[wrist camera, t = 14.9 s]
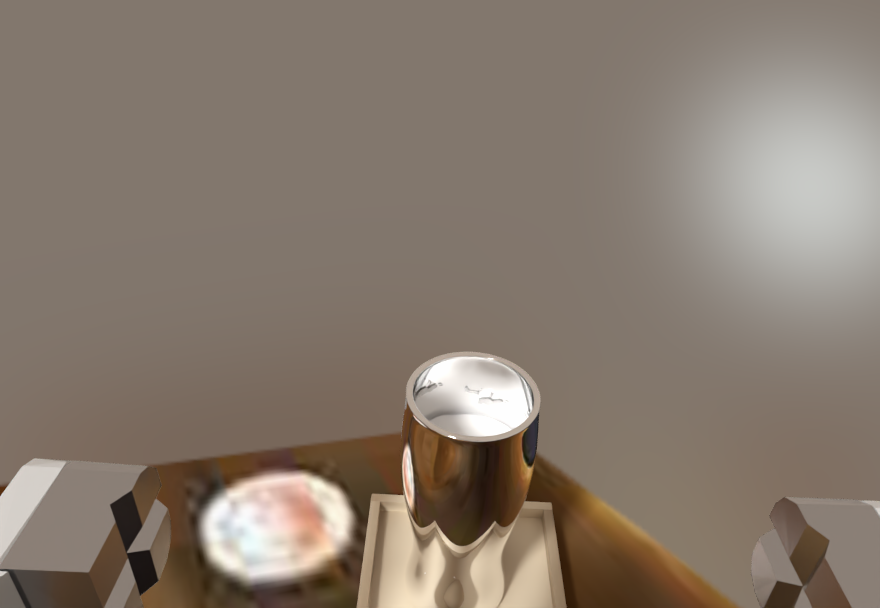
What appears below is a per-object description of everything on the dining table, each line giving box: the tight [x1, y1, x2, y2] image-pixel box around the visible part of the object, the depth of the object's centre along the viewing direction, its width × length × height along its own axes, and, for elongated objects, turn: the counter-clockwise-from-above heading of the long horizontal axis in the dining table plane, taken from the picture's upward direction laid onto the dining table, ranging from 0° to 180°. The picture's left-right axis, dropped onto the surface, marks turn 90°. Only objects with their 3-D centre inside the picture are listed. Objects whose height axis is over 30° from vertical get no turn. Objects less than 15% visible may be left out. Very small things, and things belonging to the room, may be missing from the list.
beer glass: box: [400, 352, 541, 608], centre depth 37 cm, size 7×7×15 cm
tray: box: [357, 494, 567, 608], centre depth 41 cm, size 12×11×2 cm
